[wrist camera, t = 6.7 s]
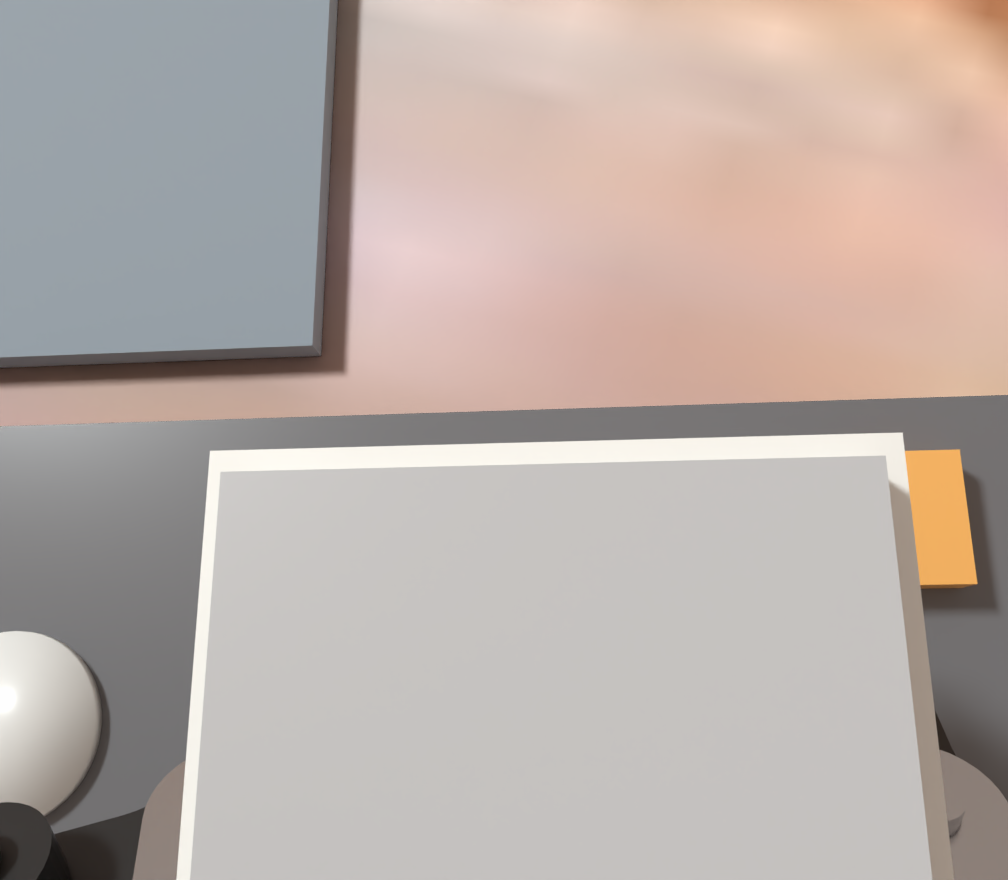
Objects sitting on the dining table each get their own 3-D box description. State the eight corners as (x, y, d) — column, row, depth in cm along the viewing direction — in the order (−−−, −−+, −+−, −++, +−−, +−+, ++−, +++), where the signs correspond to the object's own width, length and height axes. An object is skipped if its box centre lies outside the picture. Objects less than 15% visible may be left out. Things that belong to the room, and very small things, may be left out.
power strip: (-545, 1007, 17) (-787, 1077, 14) (-412, 472, 20) (-593, 435, 17) (1038, 1053, 15) (1152, 1150, 12) (957, 435, 17) (1033, 383, 14)
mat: (-234, 376, 20) (-259, 367, 19) (-138, -92, 23) (-158, -112, 22) (321, 356, 19) (312, 345, 18) (344, -133, 22) (337, -155, 21)
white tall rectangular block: (467, 841, 16) (116, 1284, 4) (468, 606, 17) (189, 436, 5) (702, 844, 16) (1030, 1335, 4) (689, 604, 17) (920, 417, 5)
